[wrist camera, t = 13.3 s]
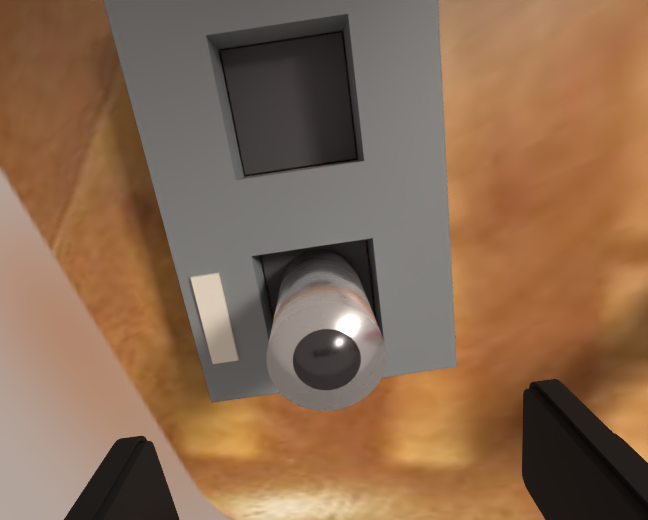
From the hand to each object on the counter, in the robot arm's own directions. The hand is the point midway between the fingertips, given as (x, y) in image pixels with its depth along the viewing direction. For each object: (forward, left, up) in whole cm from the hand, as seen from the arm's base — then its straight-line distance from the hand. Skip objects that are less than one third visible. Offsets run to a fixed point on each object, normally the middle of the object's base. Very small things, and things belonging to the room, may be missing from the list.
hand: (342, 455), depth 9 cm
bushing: (0, 0, -13) cm, 13 cm away
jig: (-5, 0, -13) cm, 14 cm away
